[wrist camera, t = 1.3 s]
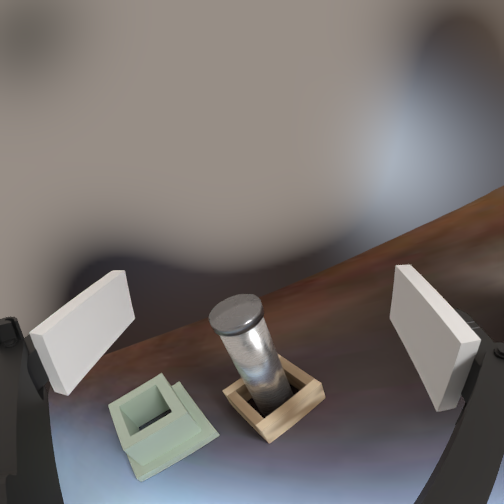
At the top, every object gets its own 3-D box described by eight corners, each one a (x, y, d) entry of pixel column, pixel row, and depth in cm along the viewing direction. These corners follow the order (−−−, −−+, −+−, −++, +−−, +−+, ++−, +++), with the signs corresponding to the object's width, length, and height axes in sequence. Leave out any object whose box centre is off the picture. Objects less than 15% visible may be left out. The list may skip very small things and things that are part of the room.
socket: (182, 385, 42) (166, 362, 40) (220, 435, 32) (202, 413, 30) (118, 424, 37) (98, 403, 35) (141, 482, 27) (117, 463, 25)
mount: (281, 367, 40) (276, 352, 39) (325, 397, 33) (321, 383, 32) (230, 404, 37) (222, 390, 35) (269, 443, 30) (261, 431, 28)
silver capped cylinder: (279, 380, 38) (242, 288, 32) (305, 400, 34) (271, 304, 28) (248, 404, 36) (200, 314, 30) (272, 426, 32) (225, 336, 26)
